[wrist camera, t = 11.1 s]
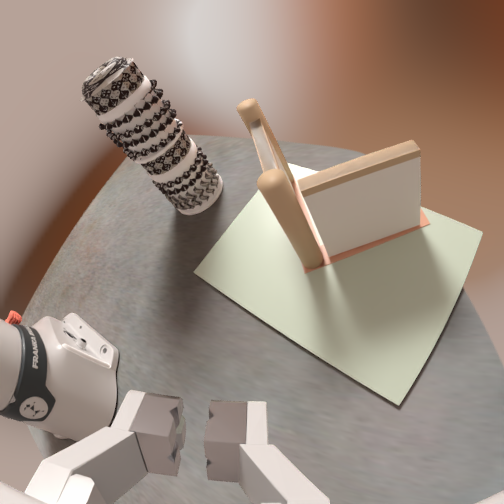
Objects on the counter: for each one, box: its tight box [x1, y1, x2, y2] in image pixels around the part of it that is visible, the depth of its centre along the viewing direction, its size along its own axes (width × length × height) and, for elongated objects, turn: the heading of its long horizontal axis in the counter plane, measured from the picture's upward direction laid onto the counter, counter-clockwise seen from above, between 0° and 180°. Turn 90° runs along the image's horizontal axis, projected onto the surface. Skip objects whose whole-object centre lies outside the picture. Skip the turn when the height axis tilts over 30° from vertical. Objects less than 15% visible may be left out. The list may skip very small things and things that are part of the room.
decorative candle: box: [81, 57, 223, 215], centre depth 40 cm, size 9×9×25 cm
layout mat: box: [194, 163, 483, 406], centre depth 35 cm, size 29×20×1 cm
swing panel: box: [297, 140, 421, 257], centre depth 29 cm, size 11×1×11 cm, turn 97°
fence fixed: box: [237, 99, 323, 269], centre depth 34 cm, size 16×2×14 cm, turn 10°
